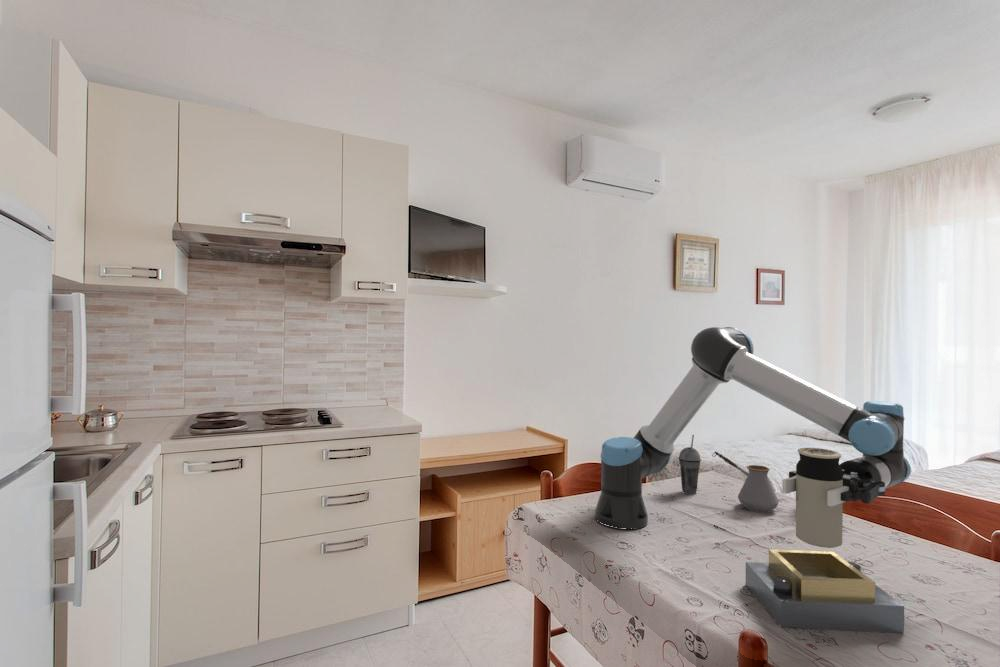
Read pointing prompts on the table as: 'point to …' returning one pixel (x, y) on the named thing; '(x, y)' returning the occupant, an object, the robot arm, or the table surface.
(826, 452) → the travel mug
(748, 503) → the coffee pot
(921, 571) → the table surface
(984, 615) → the table surface
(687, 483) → the beverage cup
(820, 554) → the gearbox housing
